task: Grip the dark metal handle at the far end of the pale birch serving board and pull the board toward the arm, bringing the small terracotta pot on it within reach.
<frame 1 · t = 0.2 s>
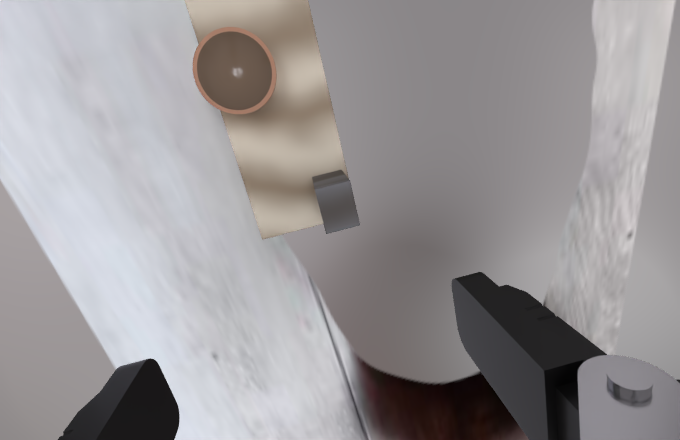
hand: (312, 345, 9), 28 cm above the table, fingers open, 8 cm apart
terracotta pot: (245, 78, 31), point 1 cm above the table, touching birch board
birch board: (275, 107, 30), point 4 cm above the table, slide at 0.0 cm, touching terracotta pot
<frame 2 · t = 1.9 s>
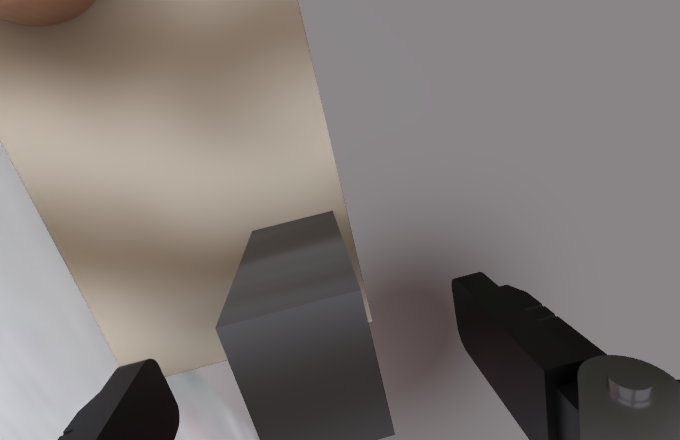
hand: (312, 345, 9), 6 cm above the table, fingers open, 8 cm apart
birch board: (83, 3, 8), point 4 cm above the table, slide at 0.0 cm, touching terracotta pot
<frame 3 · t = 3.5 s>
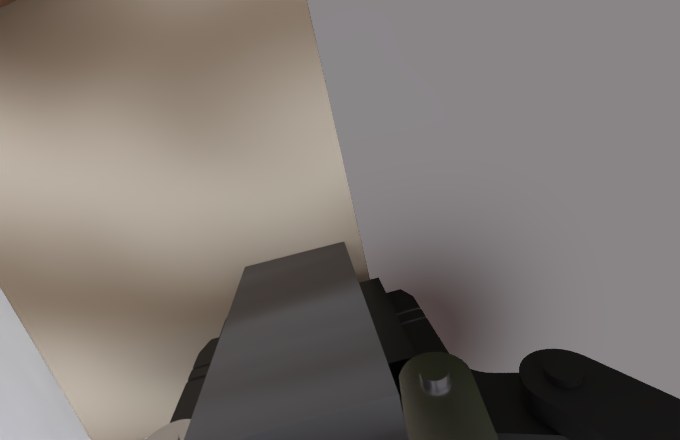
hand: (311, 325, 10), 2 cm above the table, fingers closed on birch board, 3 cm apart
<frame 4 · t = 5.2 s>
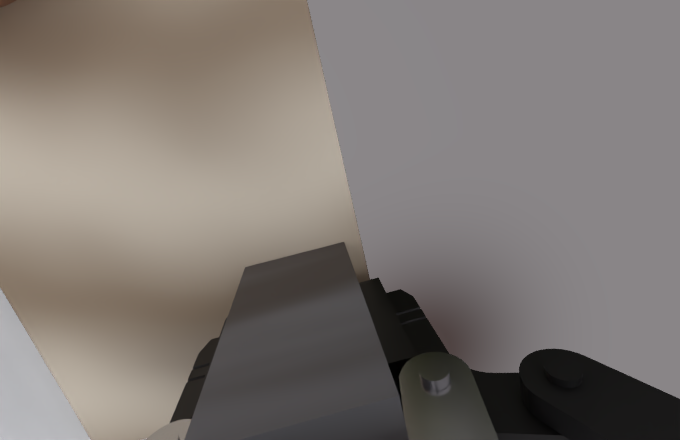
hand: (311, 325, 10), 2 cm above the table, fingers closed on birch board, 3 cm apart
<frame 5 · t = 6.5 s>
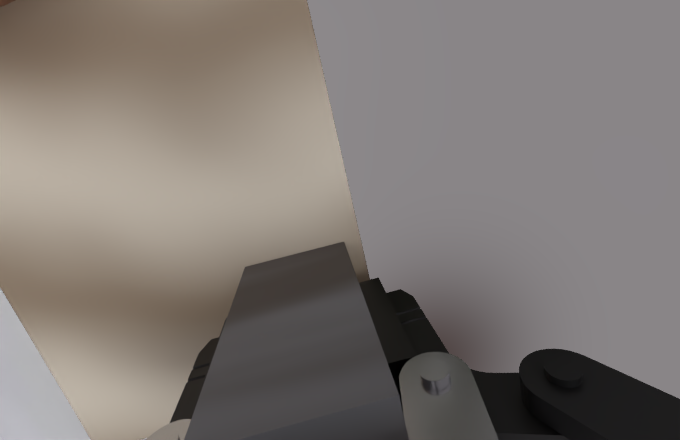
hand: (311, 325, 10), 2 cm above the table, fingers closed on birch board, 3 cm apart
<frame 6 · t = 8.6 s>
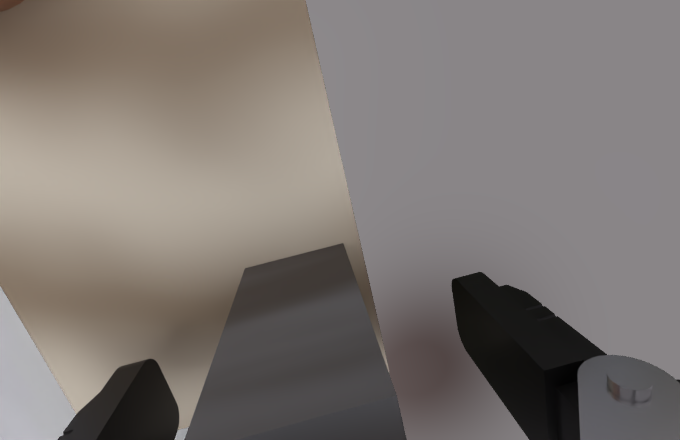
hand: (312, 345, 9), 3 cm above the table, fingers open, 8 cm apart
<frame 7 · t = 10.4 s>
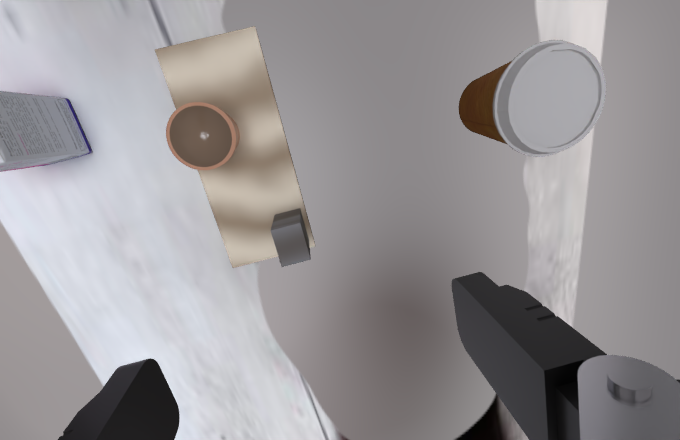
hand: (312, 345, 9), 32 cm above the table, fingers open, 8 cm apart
terracotta pot: (215, 134, 37), point 1 cm above the table, touching birch board
birch board: (239, 160, 36), point 4 cm above the table, slide at 12.0 cm, touching terracotta pot
disposable coffee cup: (483, 105, 41), on the table
supplement box: (55, 132, 37), on the table
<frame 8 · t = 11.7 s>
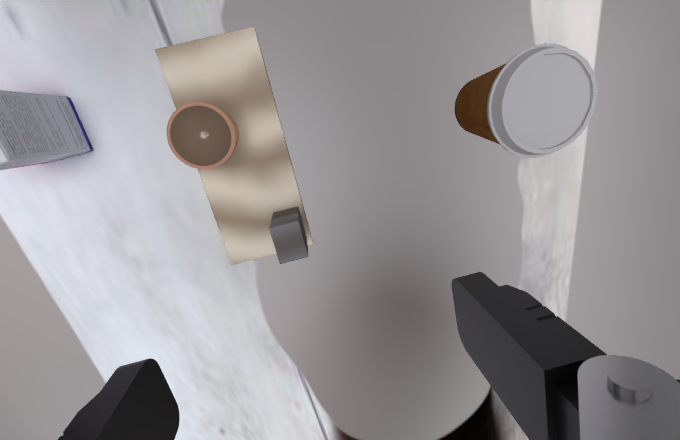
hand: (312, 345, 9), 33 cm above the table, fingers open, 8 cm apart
terracotta pot: (214, 133, 38), point 1 cm above the table, touching birch board
birch board: (238, 159, 36), point 4 cm above the table, slide at 12.0 cm, touching terracotta pot
disposable coffee cup: (479, 106, 41), on the table
supplement box: (56, 130, 37), on the table
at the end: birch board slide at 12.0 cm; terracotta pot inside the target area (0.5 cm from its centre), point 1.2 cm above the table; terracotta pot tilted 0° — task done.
